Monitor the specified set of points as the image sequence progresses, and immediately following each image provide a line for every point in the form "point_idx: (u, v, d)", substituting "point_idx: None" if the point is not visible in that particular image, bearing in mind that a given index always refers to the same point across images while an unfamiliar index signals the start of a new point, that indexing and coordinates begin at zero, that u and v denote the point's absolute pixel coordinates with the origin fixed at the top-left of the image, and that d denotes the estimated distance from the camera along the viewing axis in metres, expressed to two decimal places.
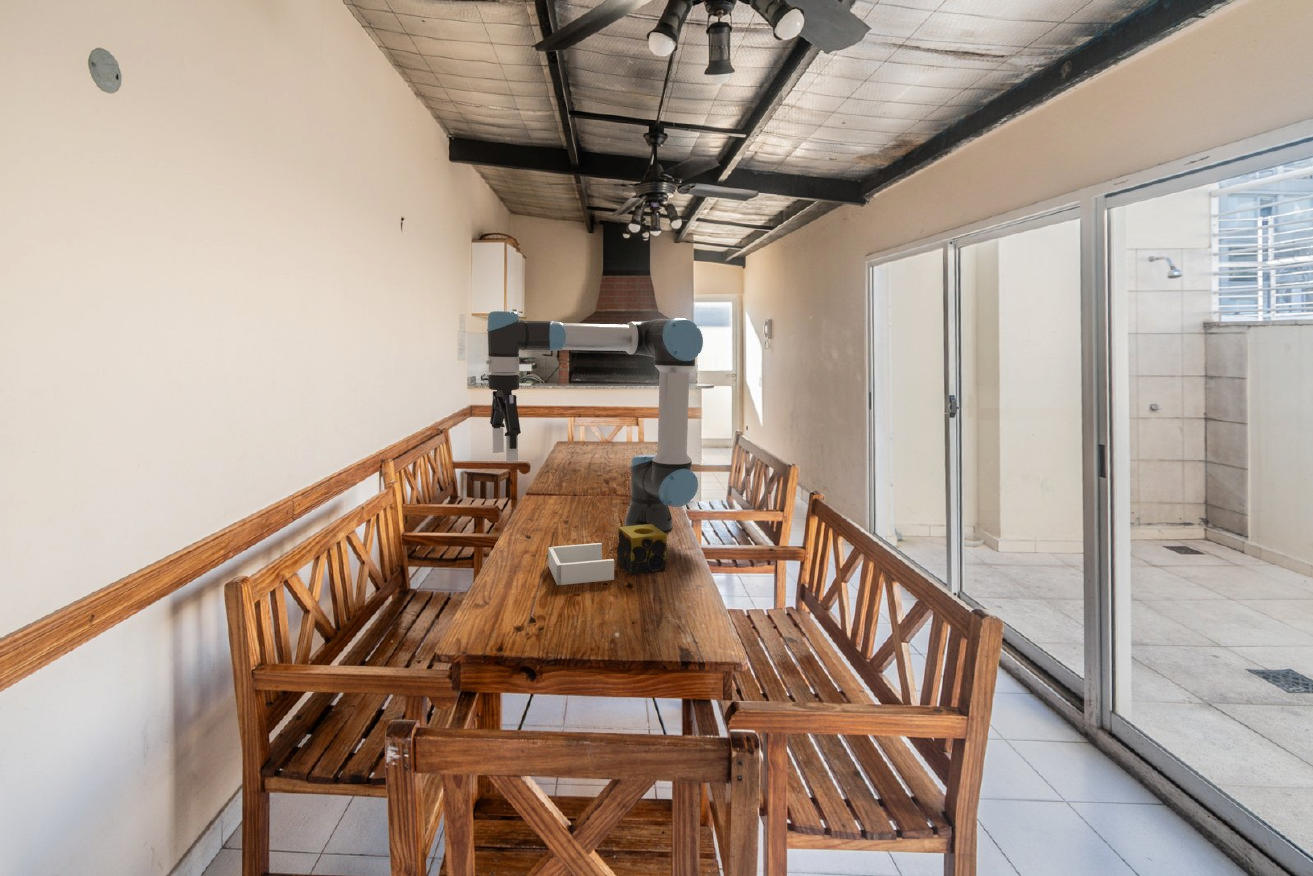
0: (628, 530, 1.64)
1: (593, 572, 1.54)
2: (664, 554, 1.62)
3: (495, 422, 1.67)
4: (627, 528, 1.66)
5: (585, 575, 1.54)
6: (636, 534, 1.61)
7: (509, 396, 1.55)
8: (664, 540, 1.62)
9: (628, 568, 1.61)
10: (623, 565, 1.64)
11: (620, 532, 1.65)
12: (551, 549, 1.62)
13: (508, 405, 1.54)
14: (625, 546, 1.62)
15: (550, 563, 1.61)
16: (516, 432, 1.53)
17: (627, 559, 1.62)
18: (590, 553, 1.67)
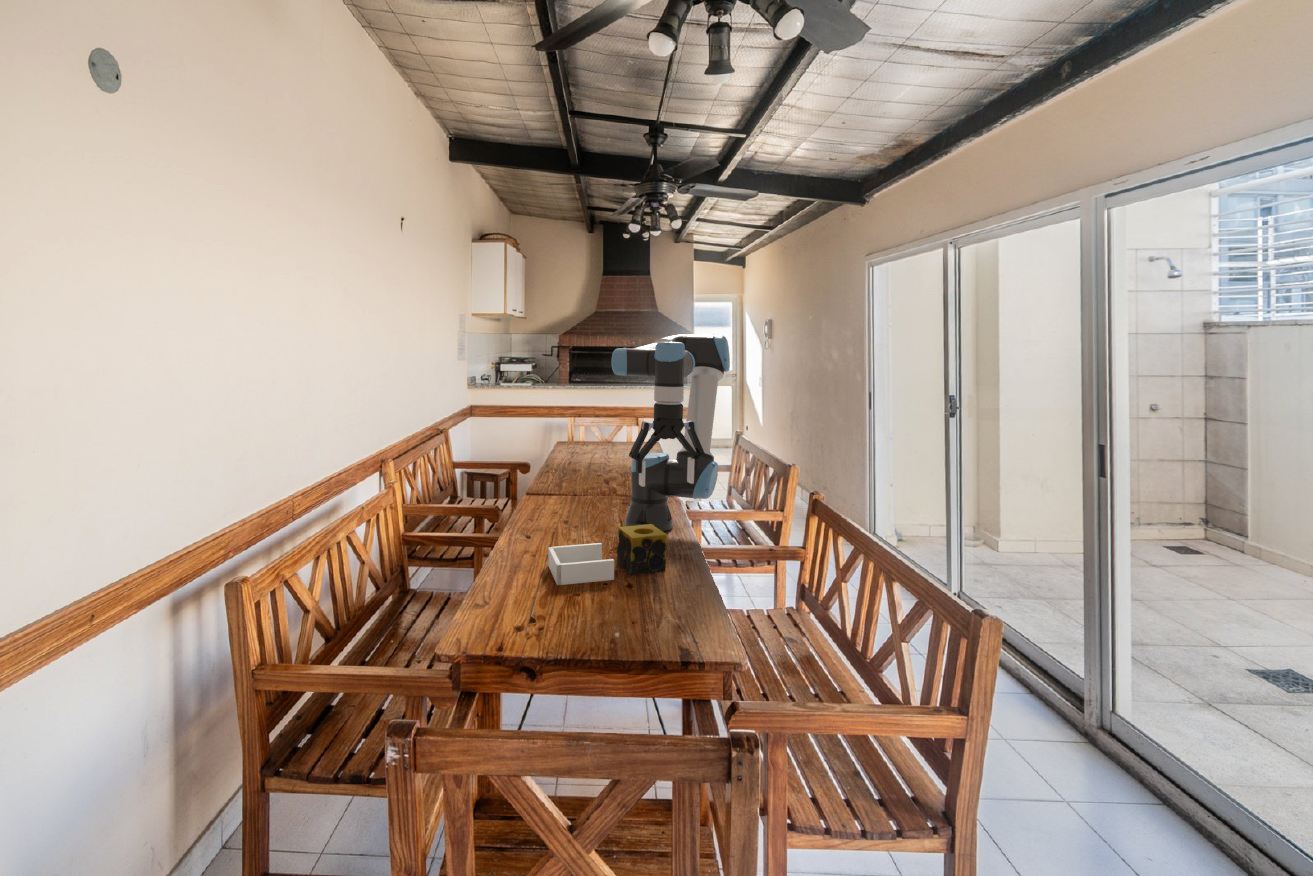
0: (628, 530, 1.64)
1: (593, 572, 1.54)
2: (664, 554, 1.62)
3: (687, 451, 1.67)
4: (627, 528, 1.66)
5: (585, 575, 1.54)
6: (636, 534, 1.61)
7: (643, 422, 1.61)
8: (664, 540, 1.62)
9: (628, 568, 1.61)
10: (623, 565, 1.64)
11: (620, 532, 1.65)
12: (551, 549, 1.62)
13: (640, 431, 1.62)
14: (625, 546, 1.62)
15: (550, 563, 1.61)
16: (630, 456, 1.61)
17: (627, 559, 1.62)
18: (590, 553, 1.67)
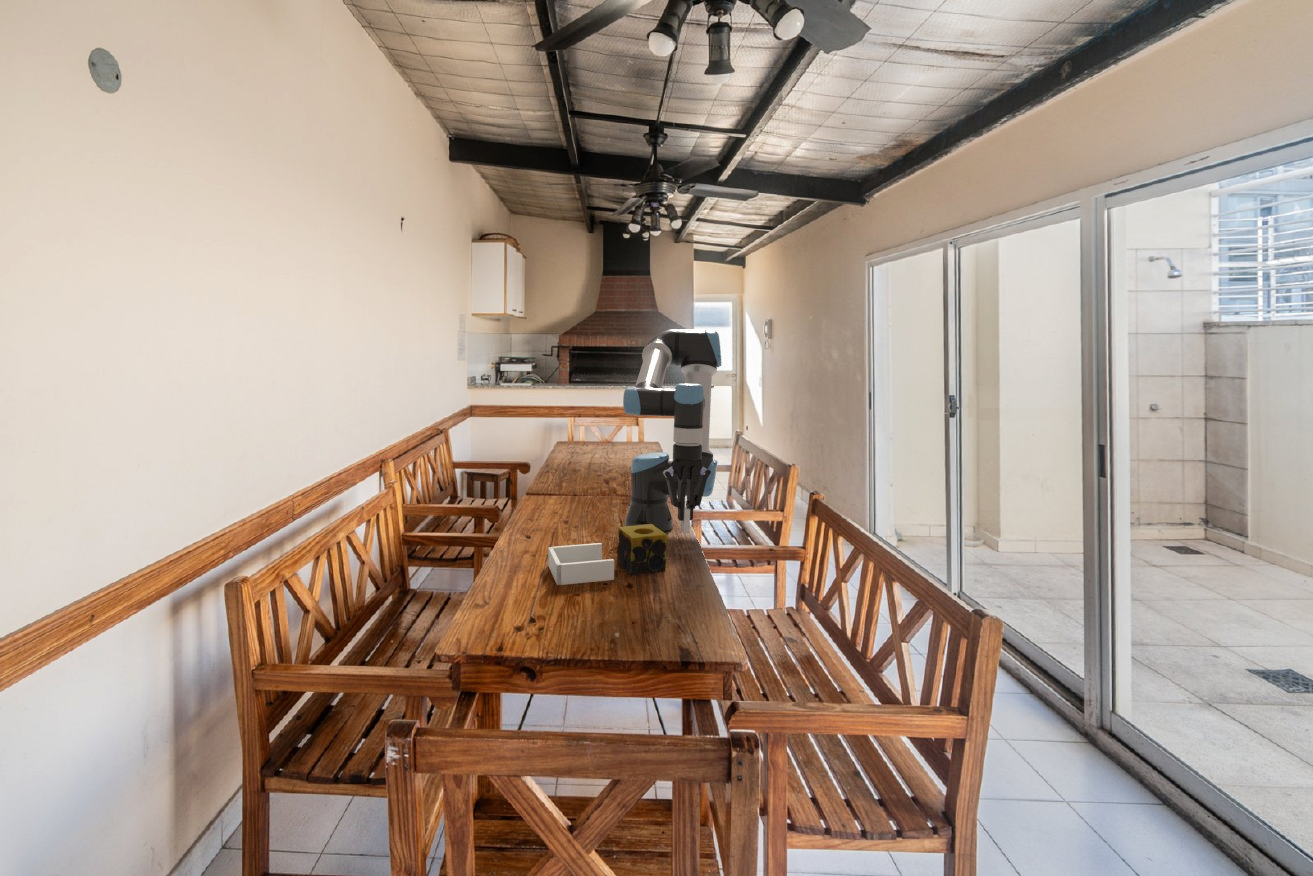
0: (628, 530, 1.64)
1: (593, 572, 1.54)
2: (664, 554, 1.62)
3: (687, 498, 1.67)
4: (627, 528, 1.66)
5: (585, 575, 1.54)
6: (636, 534, 1.61)
7: (663, 473, 1.64)
8: (664, 540, 1.62)
9: (628, 568, 1.61)
10: (623, 565, 1.64)
11: (620, 532, 1.65)
12: (551, 549, 1.62)
13: (666, 479, 1.65)
14: (625, 546, 1.62)
15: (550, 563, 1.61)
16: (673, 504, 1.65)
17: (627, 559, 1.62)
18: (590, 553, 1.67)
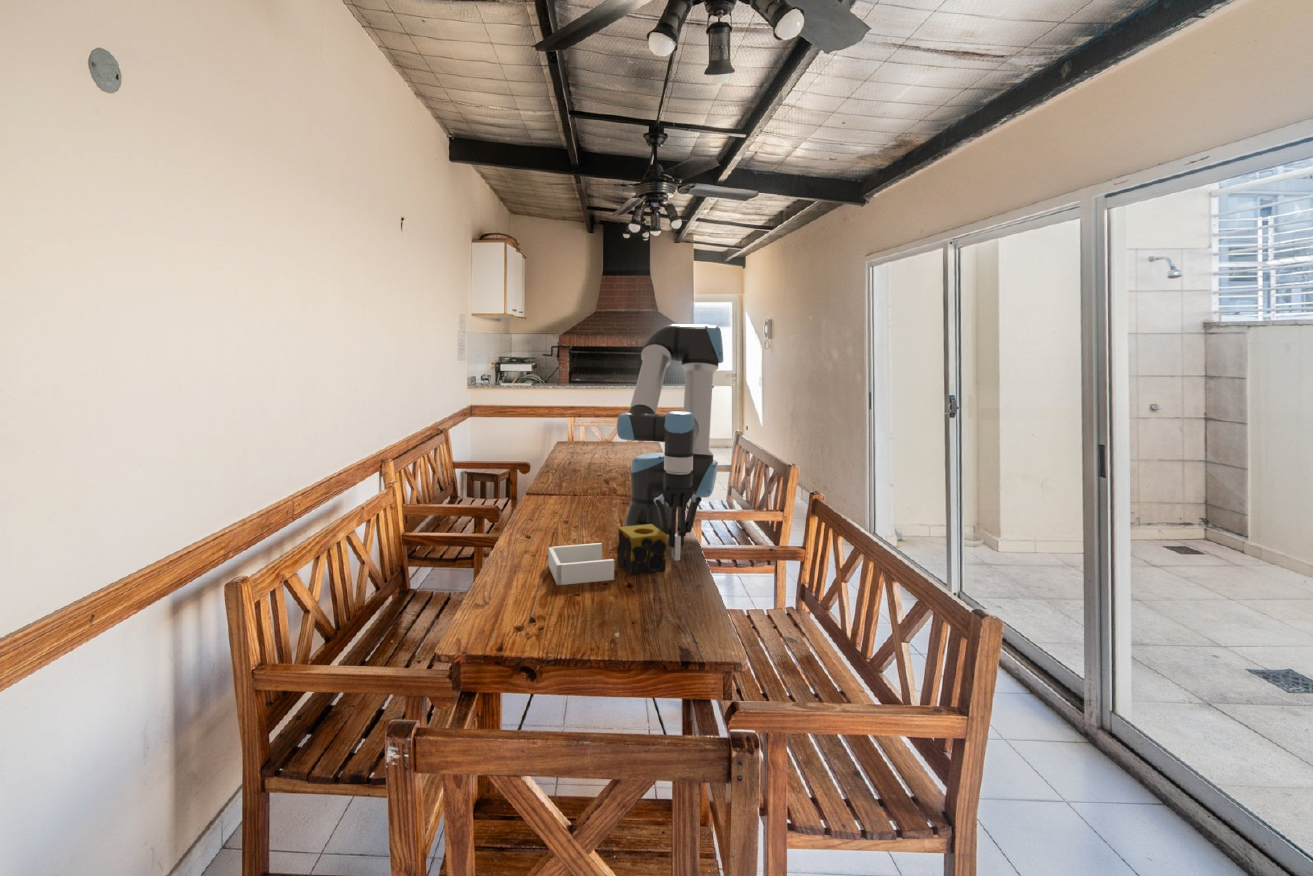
0: (628, 530, 1.64)
1: (593, 572, 1.54)
2: (664, 554, 1.62)
3: (678, 524, 1.68)
4: (627, 528, 1.66)
5: (585, 575, 1.54)
6: (636, 534, 1.61)
7: (654, 500, 1.64)
8: (664, 540, 1.62)
9: (628, 568, 1.61)
10: (623, 565, 1.64)
11: (620, 532, 1.65)
12: (551, 549, 1.62)
13: (657, 507, 1.65)
14: (625, 546, 1.62)
15: (550, 563, 1.61)
16: (663, 531, 1.66)
17: (627, 559, 1.62)
18: (590, 553, 1.67)
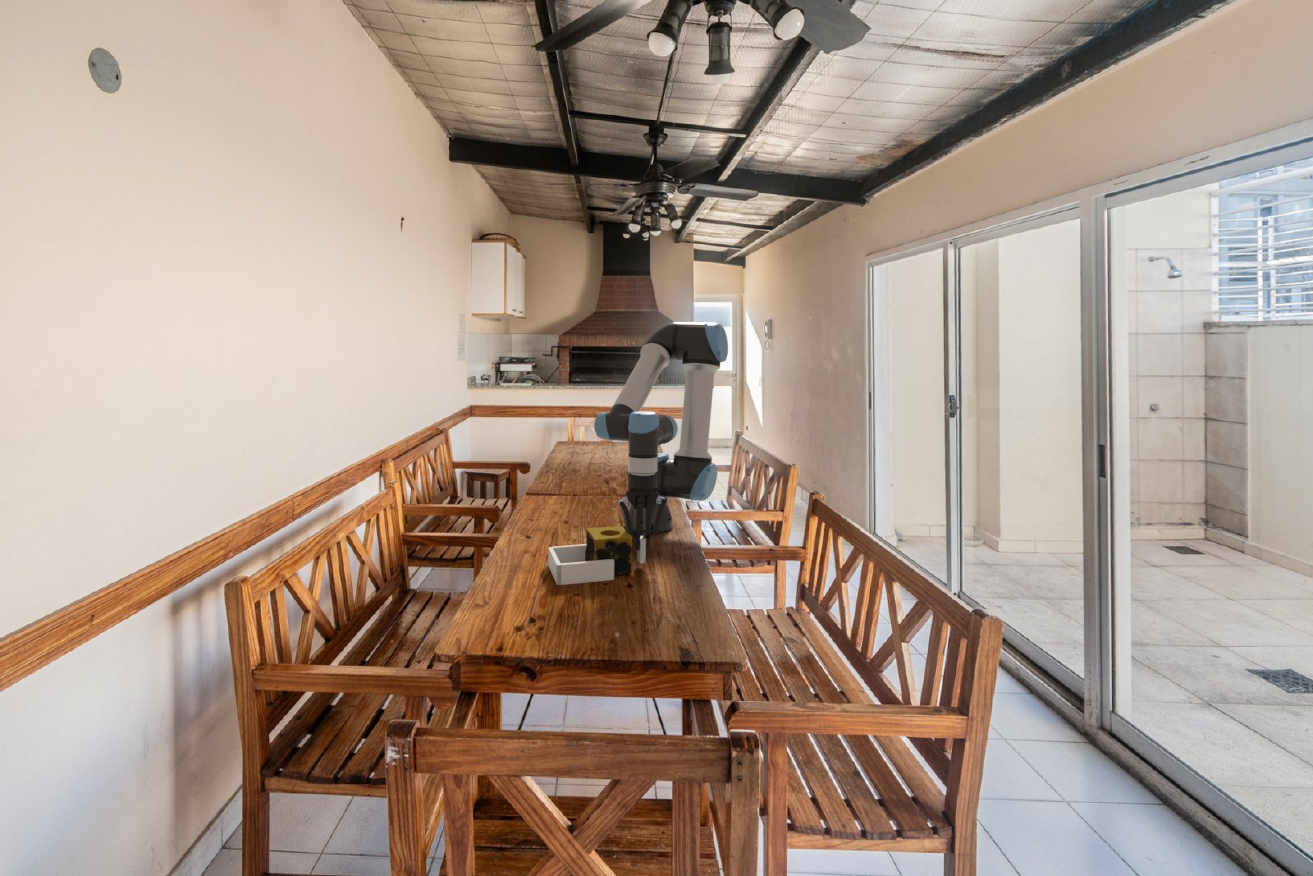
0: (594, 531, 1.62)
1: (593, 572, 1.54)
2: (629, 557, 1.59)
3: (643, 527, 1.65)
4: (594, 530, 1.63)
5: (585, 575, 1.54)
6: (601, 536, 1.58)
7: (618, 502, 1.61)
8: (629, 543, 1.59)
9: None
10: None
11: (587, 533, 1.63)
12: (551, 549, 1.62)
13: (621, 509, 1.62)
14: (590, 548, 1.60)
15: (550, 563, 1.61)
16: None
17: None
18: None
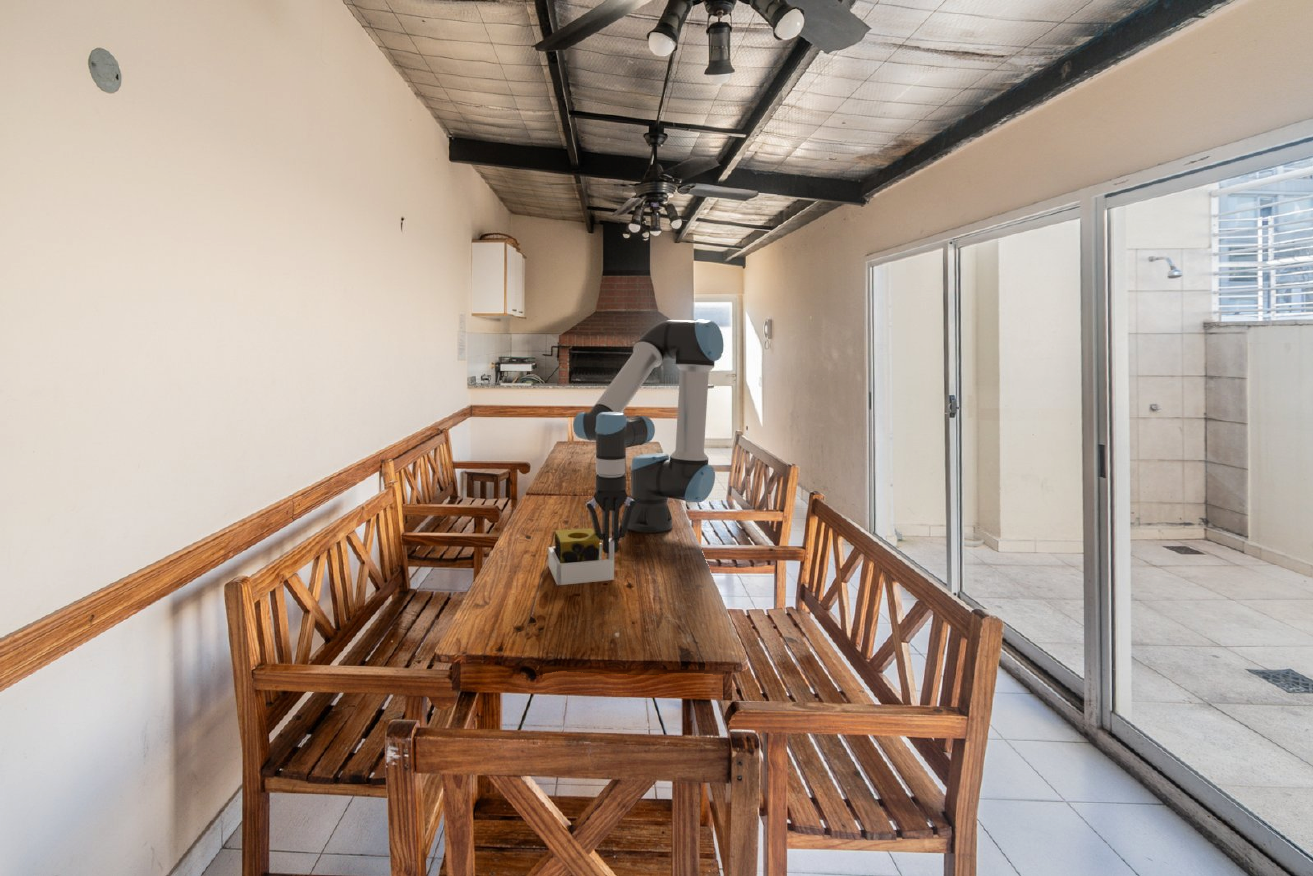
0: (562, 534, 1.59)
1: (593, 572, 1.54)
2: None
3: (612, 529, 1.62)
4: (563, 532, 1.61)
5: (585, 575, 1.54)
6: (568, 538, 1.56)
7: None
8: (597, 545, 1.56)
9: None
10: None
11: (555, 536, 1.61)
12: (551, 549, 1.62)
13: None
14: (558, 550, 1.58)
15: (550, 563, 1.61)
16: (597, 536, 1.60)
17: None
18: None
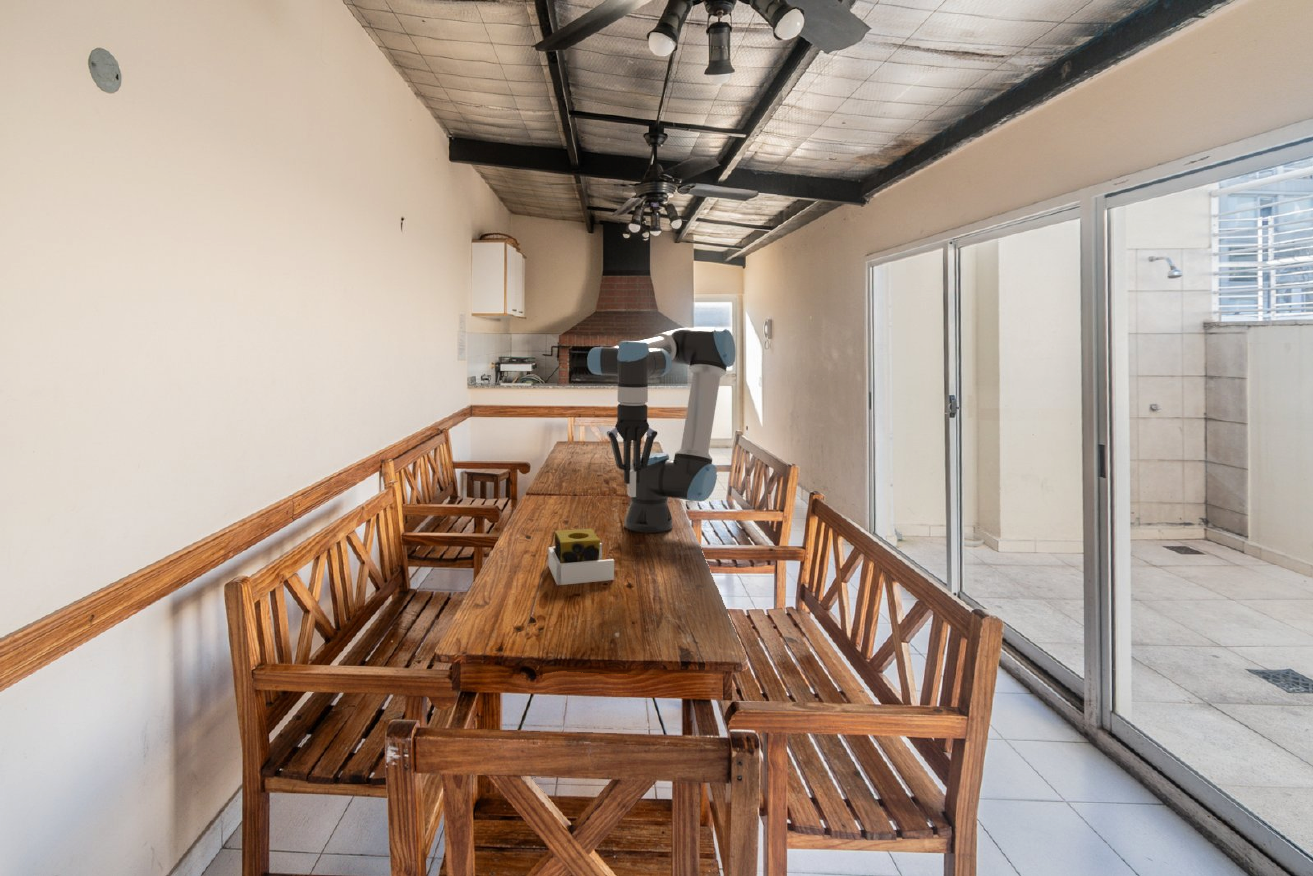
0: (562, 534, 1.59)
1: (593, 572, 1.54)
2: None
3: (633, 460, 1.62)
4: (563, 532, 1.61)
5: (585, 575, 1.54)
6: (568, 539, 1.56)
7: (607, 434, 1.58)
8: (597, 546, 1.56)
9: None
10: None
11: (555, 536, 1.61)
12: (551, 549, 1.62)
13: (611, 441, 1.59)
14: (558, 550, 1.58)
15: (550, 563, 1.61)
16: (618, 467, 1.59)
17: None
18: None
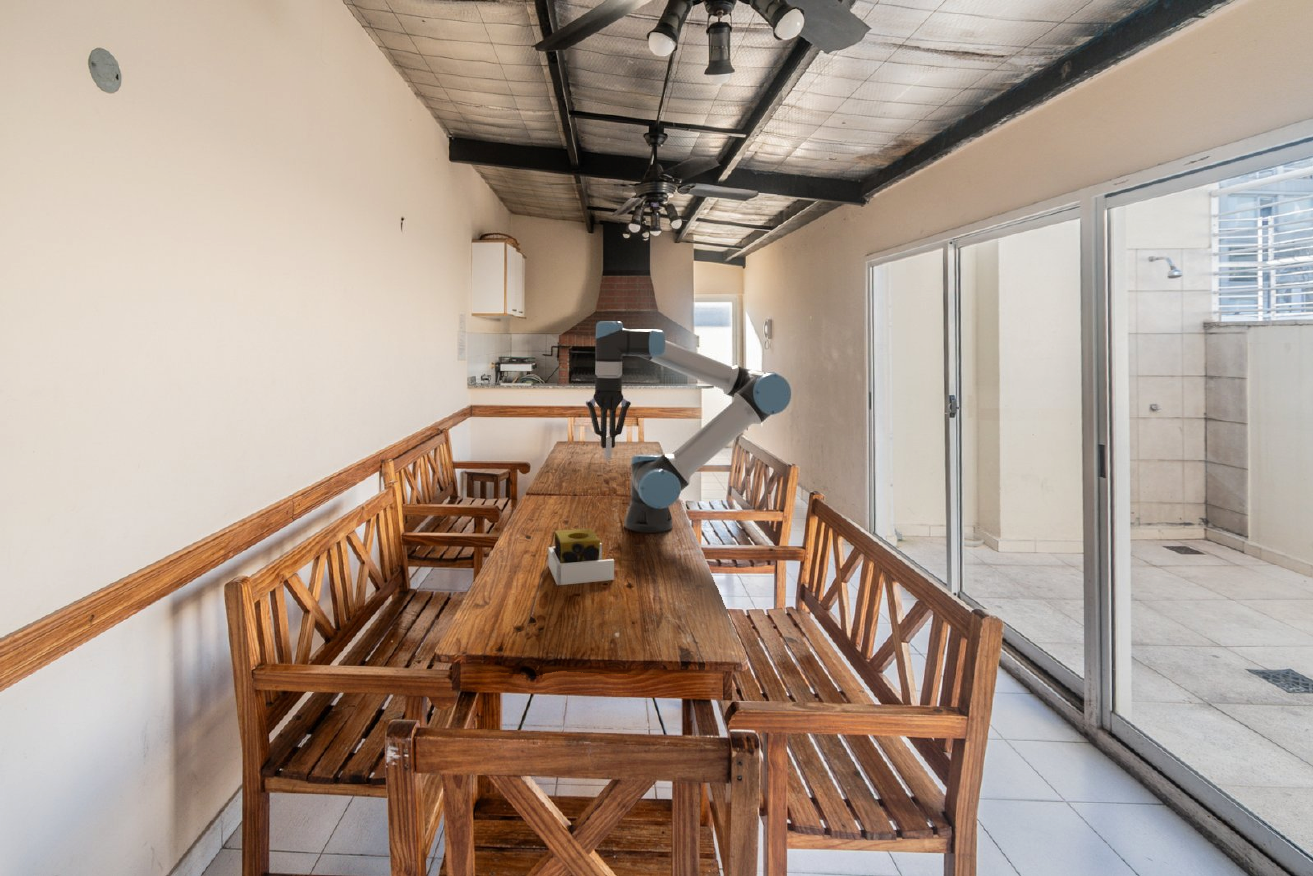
0: (562, 534, 1.59)
1: (593, 572, 1.54)
2: None
3: (609, 427, 1.83)
4: (563, 532, 1.61)
5: (585, 575, 1.54)
6: (568, 539, 1.56)
7: (586, 403, 1.79)
8: (597, 546, 1.56)
9: None
10: None
11: (555, 536, 1.61)
12: (551, 549, 1.62)
13: (589, 410, 1.80)
14: (558, 550, 1.58)
15: (550, 563, 1.61)
16: (595, 433, 1.80)
17: None
18: None
